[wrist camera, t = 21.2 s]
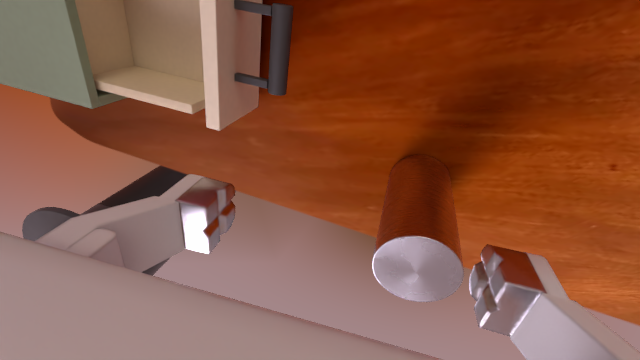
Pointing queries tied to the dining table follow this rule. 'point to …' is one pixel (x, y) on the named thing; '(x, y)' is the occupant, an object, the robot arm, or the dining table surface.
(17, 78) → the cabinet
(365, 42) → the dining table surface
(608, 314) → the dining table surface
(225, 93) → the drawer
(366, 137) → the dining table surface
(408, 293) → the can
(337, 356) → the robot arm
